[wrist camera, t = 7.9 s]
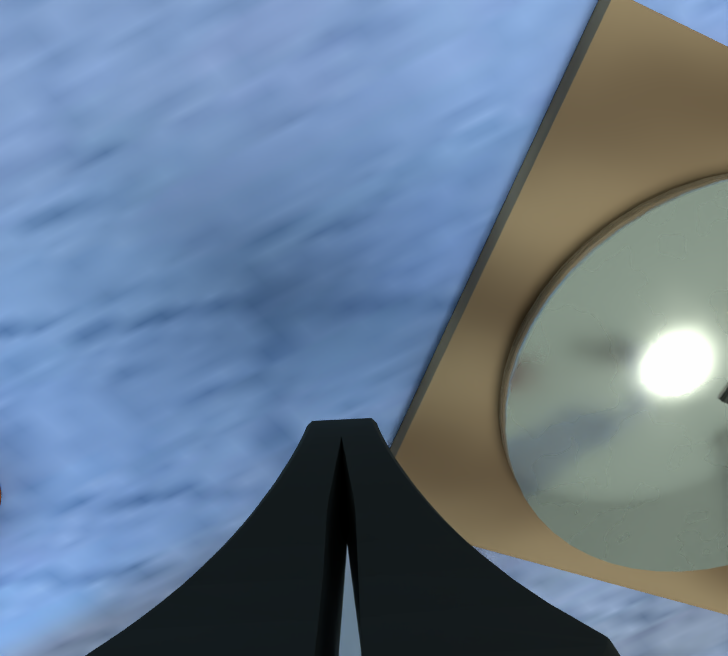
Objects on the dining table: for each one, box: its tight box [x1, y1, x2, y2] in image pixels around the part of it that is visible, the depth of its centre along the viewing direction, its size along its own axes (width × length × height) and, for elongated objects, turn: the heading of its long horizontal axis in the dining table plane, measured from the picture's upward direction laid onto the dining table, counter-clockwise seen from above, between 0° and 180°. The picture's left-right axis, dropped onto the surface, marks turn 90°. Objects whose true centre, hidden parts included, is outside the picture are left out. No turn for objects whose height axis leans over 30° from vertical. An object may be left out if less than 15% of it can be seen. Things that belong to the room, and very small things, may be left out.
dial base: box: [390, 0, 728, 615], centre depth 21 cm, size 20×20×2 cm
